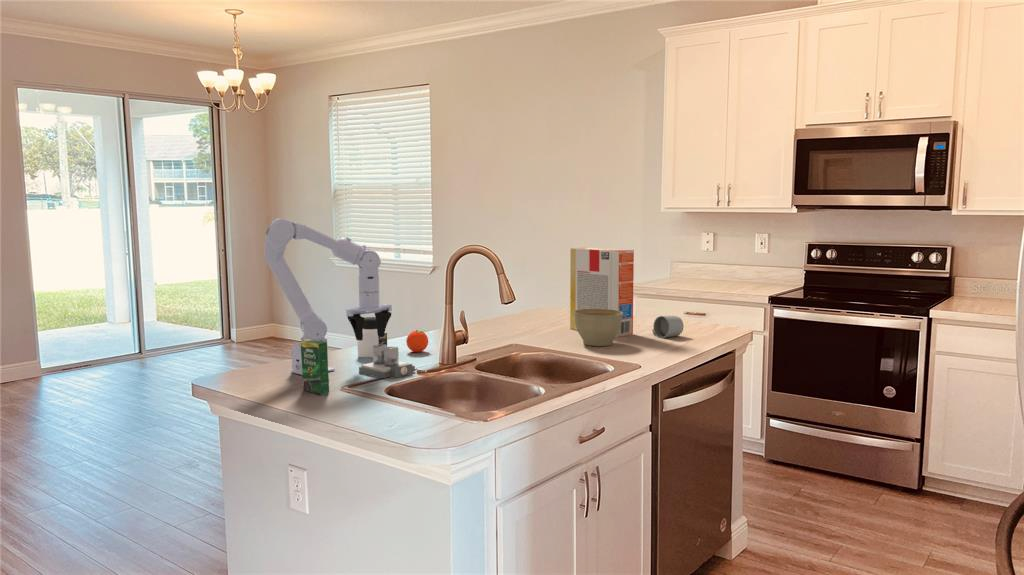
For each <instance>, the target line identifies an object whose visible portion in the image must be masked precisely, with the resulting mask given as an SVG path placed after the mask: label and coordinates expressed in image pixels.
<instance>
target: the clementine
mask: <svg viewBox="0 0 1024 575" xmlns="http://www.w3.org/2000/svg"><path fill="white" fill-rule="evenodd" d="M426 333H427V334H429V332H428V331H426V330H420V329H419V330H418V329H416V330H413V331H411V332H410V333H409V334H408V335H407V337H406V346H407V348H408V349H409V350H410V351H412V352H413V353H421V352H423V351H425V350H426V349H427V347H428V345H429V337H428V335H427V334H426Z"/></svg>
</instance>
